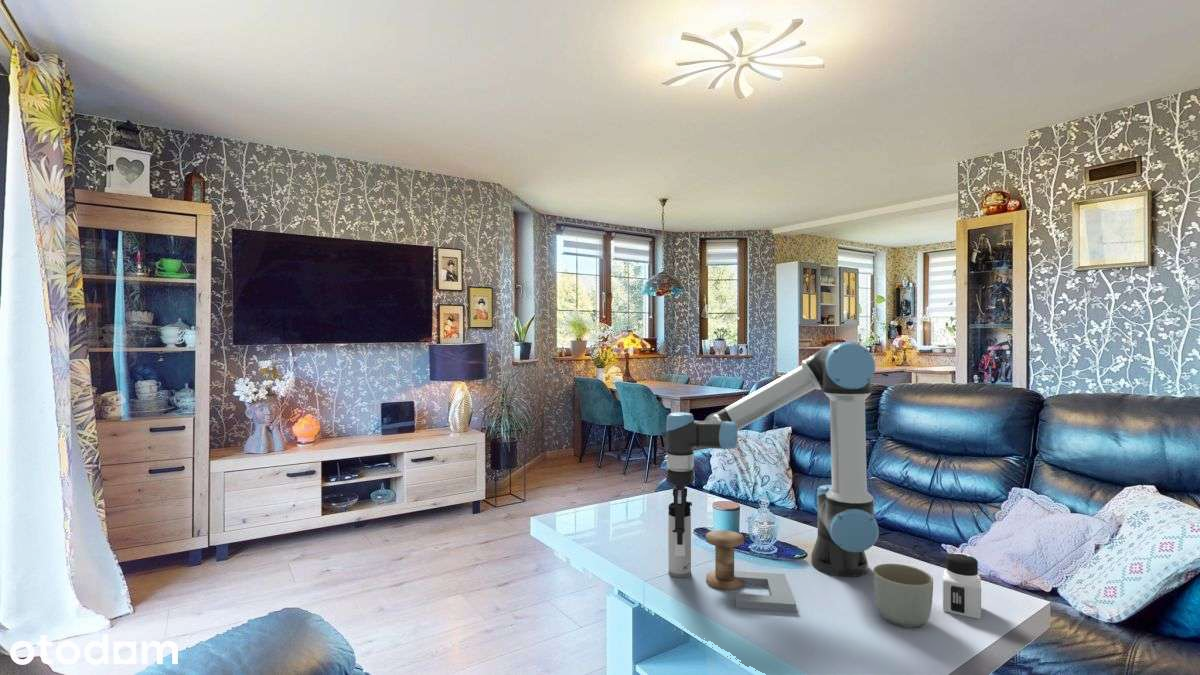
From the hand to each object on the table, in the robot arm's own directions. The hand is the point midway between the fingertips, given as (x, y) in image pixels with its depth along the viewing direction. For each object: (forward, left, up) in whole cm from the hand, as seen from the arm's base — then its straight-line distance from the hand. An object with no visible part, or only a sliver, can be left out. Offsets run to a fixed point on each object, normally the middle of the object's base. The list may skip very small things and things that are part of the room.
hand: (680, 550), depth 163 cm
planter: (-52, +19, -7) cm, 56 cm away
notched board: (-21, +10, -6) cm, 24 cm away
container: (-68, +11, -7) cm, 69 cm away
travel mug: (0, 0, -7) cm, 7 cm away
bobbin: (-12, +4, -6) cm, 14 cm away
